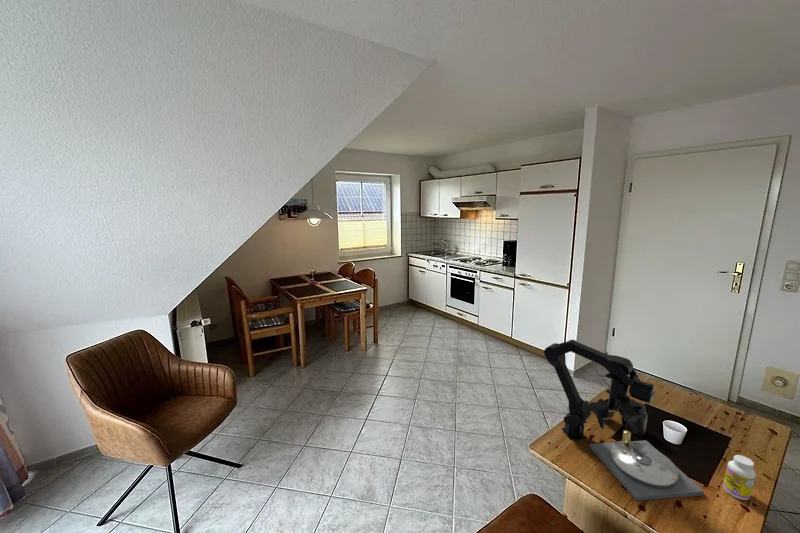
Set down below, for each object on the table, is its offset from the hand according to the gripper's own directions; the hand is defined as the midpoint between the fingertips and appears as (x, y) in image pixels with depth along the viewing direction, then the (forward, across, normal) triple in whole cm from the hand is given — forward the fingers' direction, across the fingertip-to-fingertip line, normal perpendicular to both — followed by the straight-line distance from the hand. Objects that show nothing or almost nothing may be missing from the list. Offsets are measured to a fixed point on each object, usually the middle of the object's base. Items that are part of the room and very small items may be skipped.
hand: (613, 427), depth 128 cm
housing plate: (+11, +6, -9) cm, 15 cm away
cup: (+11, +13, +18) cm, 25 cm away
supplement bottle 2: (+11, +29, -22) cm, 38 cm away
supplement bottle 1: (+11, +20, +10) cm, 25 cm away
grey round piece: (+9, +6, -9) cm, 14 cm away
